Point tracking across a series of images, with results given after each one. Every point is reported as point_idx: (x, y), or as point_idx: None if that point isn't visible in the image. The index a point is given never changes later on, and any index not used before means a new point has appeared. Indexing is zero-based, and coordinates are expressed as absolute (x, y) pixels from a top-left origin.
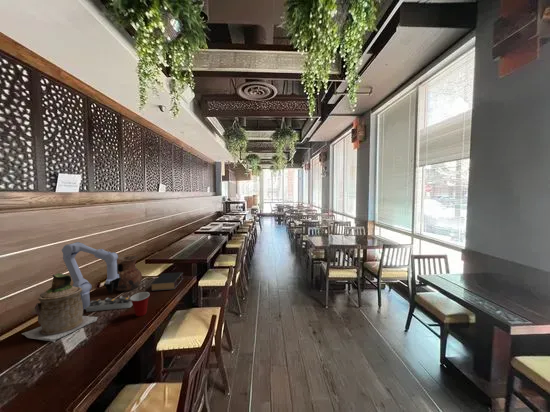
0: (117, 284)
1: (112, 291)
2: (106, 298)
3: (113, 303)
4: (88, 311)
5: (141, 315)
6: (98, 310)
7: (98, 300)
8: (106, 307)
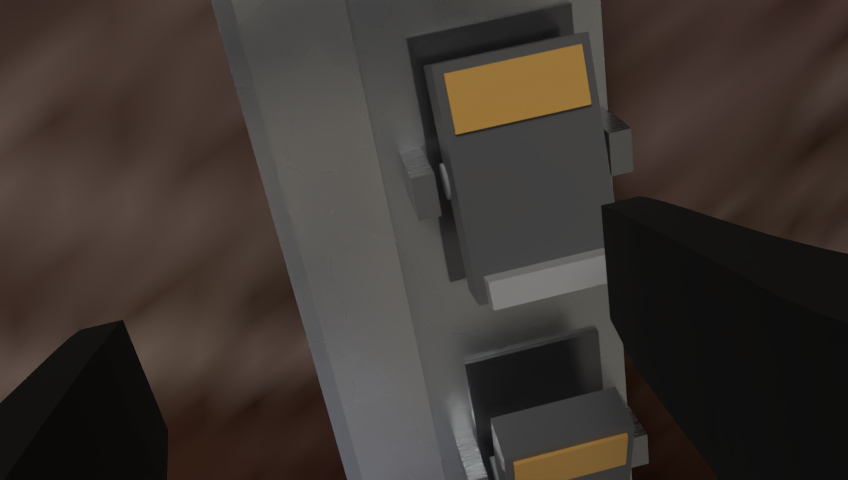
0: (60, 443)
1: (631, 209)
2: (573, 284)
3: (569, 9)
4: None
5: None
6: None
7: (603, 427)
8: None
